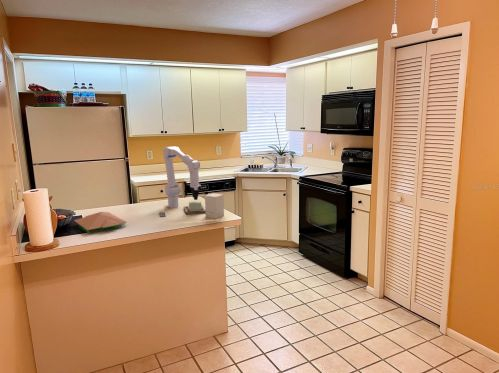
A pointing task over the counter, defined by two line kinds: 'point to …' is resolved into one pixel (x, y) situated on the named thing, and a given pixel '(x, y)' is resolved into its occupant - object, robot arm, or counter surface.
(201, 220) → the counter surface
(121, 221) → the green-backed flat pad
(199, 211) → the walnut rack
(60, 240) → the counter surface
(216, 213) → the supplement box
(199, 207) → the pale green rectangular block
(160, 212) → the charcoal mat
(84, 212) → the counter surface
